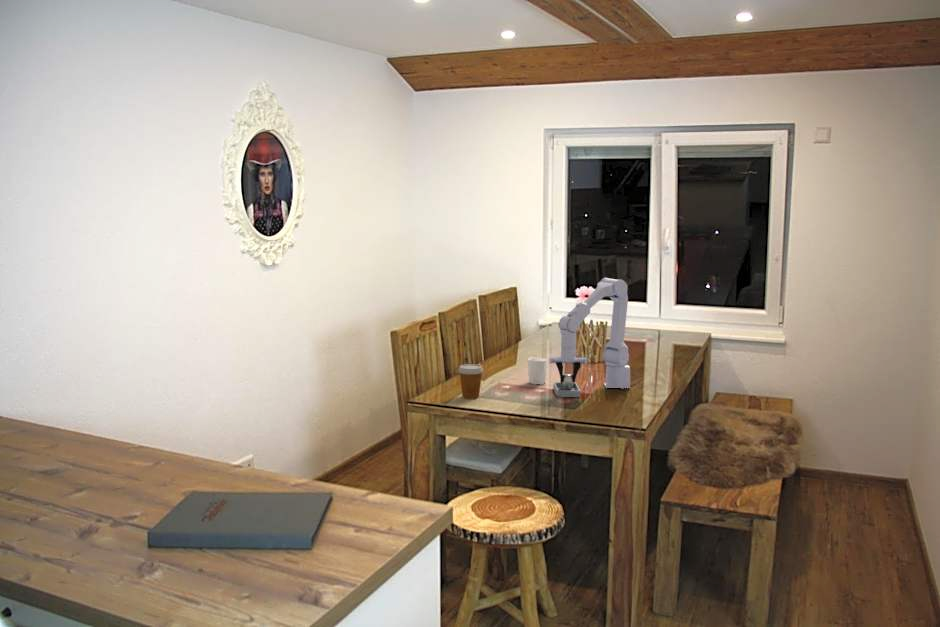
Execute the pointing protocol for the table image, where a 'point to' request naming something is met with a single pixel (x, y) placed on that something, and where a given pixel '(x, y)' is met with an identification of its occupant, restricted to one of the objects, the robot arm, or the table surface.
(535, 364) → the white cup
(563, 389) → the walnut block
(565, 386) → the metal cylinder
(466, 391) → the disposable coffee cup
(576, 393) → the parts tray
